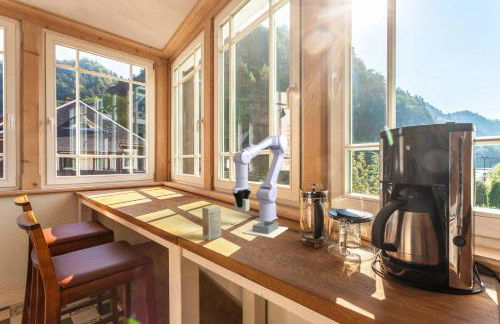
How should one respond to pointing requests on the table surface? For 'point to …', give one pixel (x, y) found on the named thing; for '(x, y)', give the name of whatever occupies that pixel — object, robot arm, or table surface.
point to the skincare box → (211, 222)
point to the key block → (244, 207)
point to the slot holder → (266, 229)
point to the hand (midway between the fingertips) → (241, 206)
